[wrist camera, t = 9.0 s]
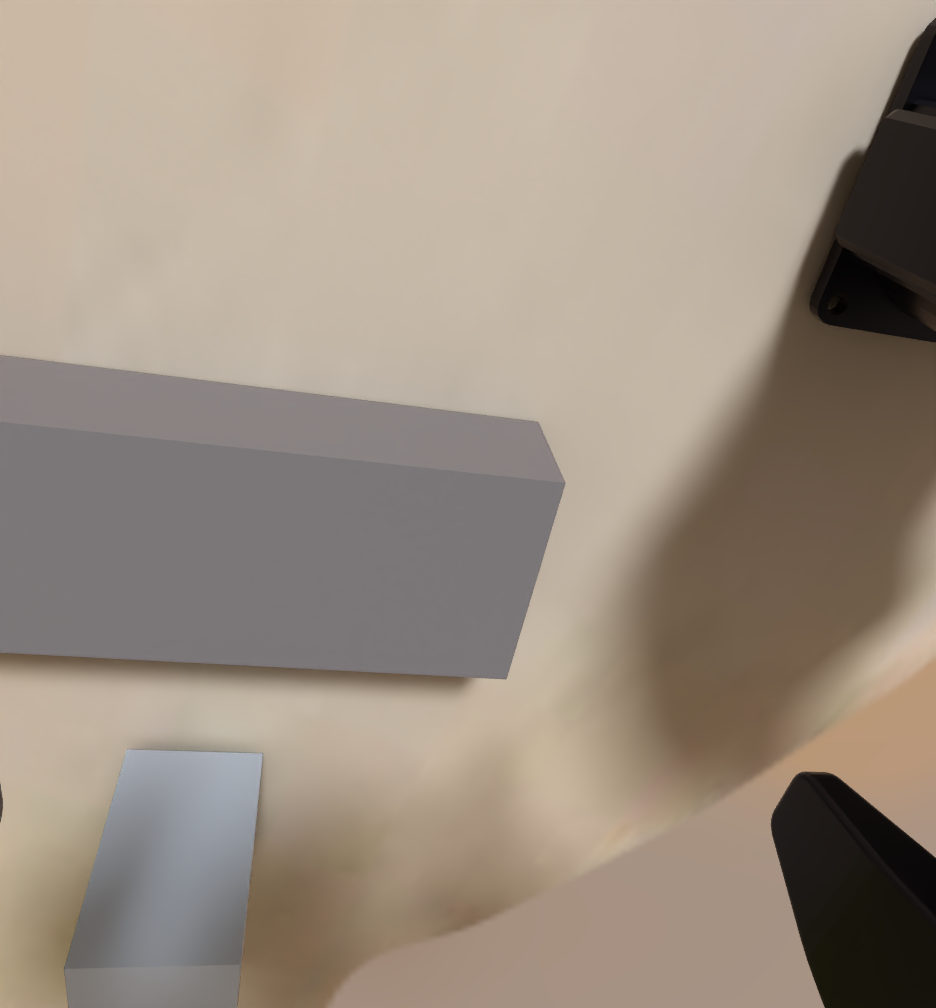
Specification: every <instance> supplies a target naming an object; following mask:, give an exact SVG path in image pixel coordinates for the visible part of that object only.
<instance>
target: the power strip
mask: <svg viewBox="0 0 936 1008" xmlns="http://www.w3.org/2000/svg"><path fill="white" fill-rule="evenodd" d="M564 486H565V481H564V479H563V476H562V474H561V472H560V470H559V467H558V465H557V463H556V461H555V458H554V456H553V454H552V452H551V449H550V447H549V445H548V443H547V440H546V438H545V436H544V434H543V432H542V429H541V427H540V425H539V423H538V422H534V421H526V420H518V419H510V418H502V417H494V416H486V415H478V414H470V413H462V412H453V411H445V410H437V409H429V408H421V407H413V406H405V405H397V404H389V403H381V402H373V401H365V400H357V399H349V398H341V397H333V396H325V395H317V394H308V393H300V392H292V391H284V390H276V389H268V388H260V387H252V386H244V385H236V384H228V383H220V382H212V381H204V380H196V379H188V378H180V377H171V376H163V375H155V374H147V373H139V372H131V371H123V370H115V369H107V368H99V367H91V366H83V365H75V364H67V363H59V362H51V361H43V360H35V359H26V358H18V357H10V356H2V355H0V653H16V654H35V655H54V656H73V657H92V658H111V659H130V660H149V661H168V662H187V663H206V664H225V665H244V666H263V667H282V668H301V669H320V670H339V671H358V672H377V673H396V674H415V675H434V676H453V677H472V678H491V679H507V676H508V672H509V669H510V666H511V662H512V659H513V656H514V652H515V649H516V646H517V642H518V639H519V636H520V632H521V629H522V626H523V622H524V619H525V616H526V612H527V609H528V606H529V602H530V599H531V596H532V592H533V589H534V586H535V582H536V579H537V576H538V572H539V569H540V566H541V563H542V559H543V556H544V553H545V549H546V546H547V543H548V539H549V536H550V533H551V529H552V526H553V523H554V519H555V516H556V513H557V509H558V506H559V503H560V499H561V496H562V493H563V489H564Z"/></svg>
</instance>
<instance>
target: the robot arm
mask: <svg viewBox="0 0 936 1008" xmlns="http://www.w3.org/2000/svg"><path fill="white" fill-rule="evenodd" d="M836 295H840V298H839V302H838V303H837V304H836V306H835V307H833V308H831V309H827V308H828V303H829V302H830V300H831V299H832V298H833V297H835V296H836ZM809 305H810V311H811V312H812V314H813V315H814V316H815V317H816V318H817V319H819V320H820V321H822V322H823V323H826V324H828V325H833V326H839V327H845V328H851V329H857V330H863V331H869V332H875V333H881V334H888V335H894V336H900V337H906V338H912V339H918V340H924V341H930V342H936V18H935V19H934V20H933V21H932V22H931V23H930V24H929V25H928V26H927V28H926V29H925V31H924V33H923V34H922V36H921V39H920V41H919V43H918V46H917V48H916V50H915V53H914V55H913V57H912V60H911V62H910V65H909V67H908V69H907V72H906V74H905V76H904V79H903V81H902V83H901V86H900V88H899V90H898V93H897V95H896V98H895V100H894V102H893V105H892V107H891V109H890V112H889V114H888V116H887V117H885V118H884V119H883V120H882V122H881V125H880V127H879V129H878V132H877V134H876V136H875V139H874V141H873V143H872V146H871V148H870V151H869V153H868V155H867V158H866V160H865V162H864V165H863V167H862V170H861V172H860V174H859V177H858V179H857V181H856V184H855V186H854V189H853V191H852V193H851V196H850V198H849V200H848V203H847V205H846V207H845V210H844V212H843V215H842V217H841V219H840V222H839V224H838V226H837V229H836V239H835V241H834V244H833V246H832V248H831V251H830V253H829V256H828V258H827V260H826V263H825V265H824V267H823V270H822V272H821V274H820V277H819V279H818V281H817V284H816V286H815V289H814V291H813V293H812V296H811V299H810V304H809ZM2 810H3V798H2V792H1V785H0V822H1V817H2ZM771 829H772V836H773V839H774V843H775V847H776V851H777V854H778V858H779V861H780V865H781V868H782V872H783V876H784V879H785V883H786V887H787V891H788V894H789V897H790V901H791V905H792V909H793V912H794V916H795V919H796V923H797V927H798V930H799V934H800V937H801V941H802V944H803V947H804V951H805V954H806V957H807V961H808V963H809V966H810V969H811V972H812V975H813V977H814V980H815V983H816V986H817V989H818V991H819V994H820V996H821V999H822V1002H823V1004H824V1007H825V1008H936V858H935V857H934V856H933V855H932V854H930V853H929V852H928V851H927V850H926V849H924V848H923V847H922V846H921V845H920V844H918V843H917V842H916V841H915V840H913V839H912V838H911V837H910V836H909V835H907V834H906V833H905V832H904V831H903V830H901V829H900V828H899V827H898V826H897V825H895V824H894V823H893V822H892V821H891V820H889V819H888V818H887V817H886V816H884V815H883V814H882V813H881V812H879V811H878V810H877V809H876V808H875V807H874V806H872V805H871V804H870V803H869V802H867V801H866V800H865V799H864V798H863V797H861V796H860V795H859V794H858V793H856V792H855V791H854V790H853V789H852V788H850V787H849V786H848V785H847V784H846V783H844V782H843V781H842V780H841V779H840V778H838V777H837V776H835V775H833V774H830V773H826V772H801V773H799V774H797V775H796V776H795V777H794V778H793V780H792V782H791V783H790V785H789V787H788V788H787V790H786V791H785V794H784V795H783V796H782V798H781V800H780V802H779V803H778V805H777V806H776V808H775V810H774V812H773V814H772V818H771Z"/></svg>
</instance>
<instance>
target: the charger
mask: <svg viewBox="0 0 936 1008" xmlns="http://www.w3.org/2000/svg"><path fill="white" fill-rule="evenodd" d="M262 759H263V753H231V752H199V751H166V750H133V749H127V751H126V754H125V758H124V761H123V765H122V768H121V772H120V775H119V778H118V782H117V785H116V789H115V792H114V796H113V799H112V803H111V806H110V810H109V813H108V817H107V820H106V824H105V827H104V831H103V834H102V838H101V841H100V845H99V848H98V852H97V855H96V859H95V862H94V866H93V869H92V873H91V876H90V880H89V883H88V887H87V890H86V894H85V897H84V901H83V904H82V908H81V911H80V915H79V918H78V922H77V925H76V929H75V932H74V936H73V939H72V943H71V946H70V950H69V953H68V957H67V960H66V964H65V967H64V972H65V981H66V990H67V999H68V1008H237V1006H238V996H239V987H240V977H241V968H242V958H243V949H244V939H245V930H246V920H247V911H248V901H249V892H250V882H251V873H252V863H253V854H254V843H255V833H256V822H257V812H258V801H259V790H260V780H261V769H262Z"/></svg>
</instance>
